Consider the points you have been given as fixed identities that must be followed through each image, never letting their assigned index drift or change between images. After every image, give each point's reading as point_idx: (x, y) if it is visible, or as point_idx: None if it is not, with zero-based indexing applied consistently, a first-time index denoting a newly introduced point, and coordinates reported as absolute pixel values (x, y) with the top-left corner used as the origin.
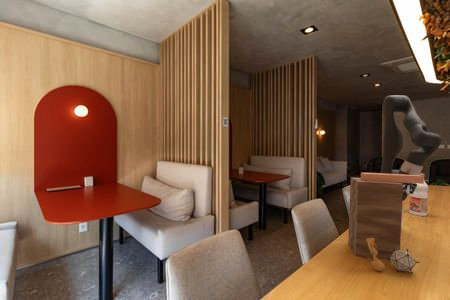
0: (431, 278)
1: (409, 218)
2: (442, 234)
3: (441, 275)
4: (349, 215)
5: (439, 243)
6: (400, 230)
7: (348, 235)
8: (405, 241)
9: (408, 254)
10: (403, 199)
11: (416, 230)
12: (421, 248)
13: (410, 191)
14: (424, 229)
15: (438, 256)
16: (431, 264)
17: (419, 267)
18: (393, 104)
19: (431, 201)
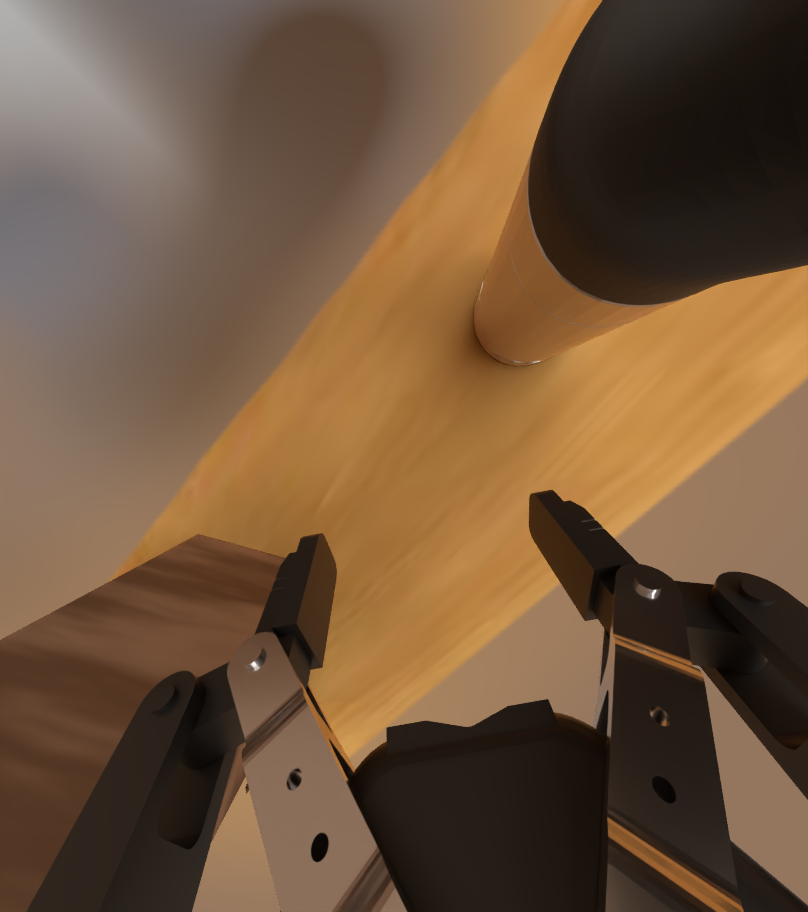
0: (339, 730)
1: None
2: (756, 404)
3: (380, 721)
4: (50, 618)
5: (605, 519)
6: (237, 787)
7: (168, 550)
8: (453, 504)
9: (246, 792)
10: (536, 543)
11: (645, 353)
12: (469, 566)
13: (728, 661)
14: (720, 329)
15: (479, 625)
16: (402, 671)
17: (349, 683)
18: None
19: None
